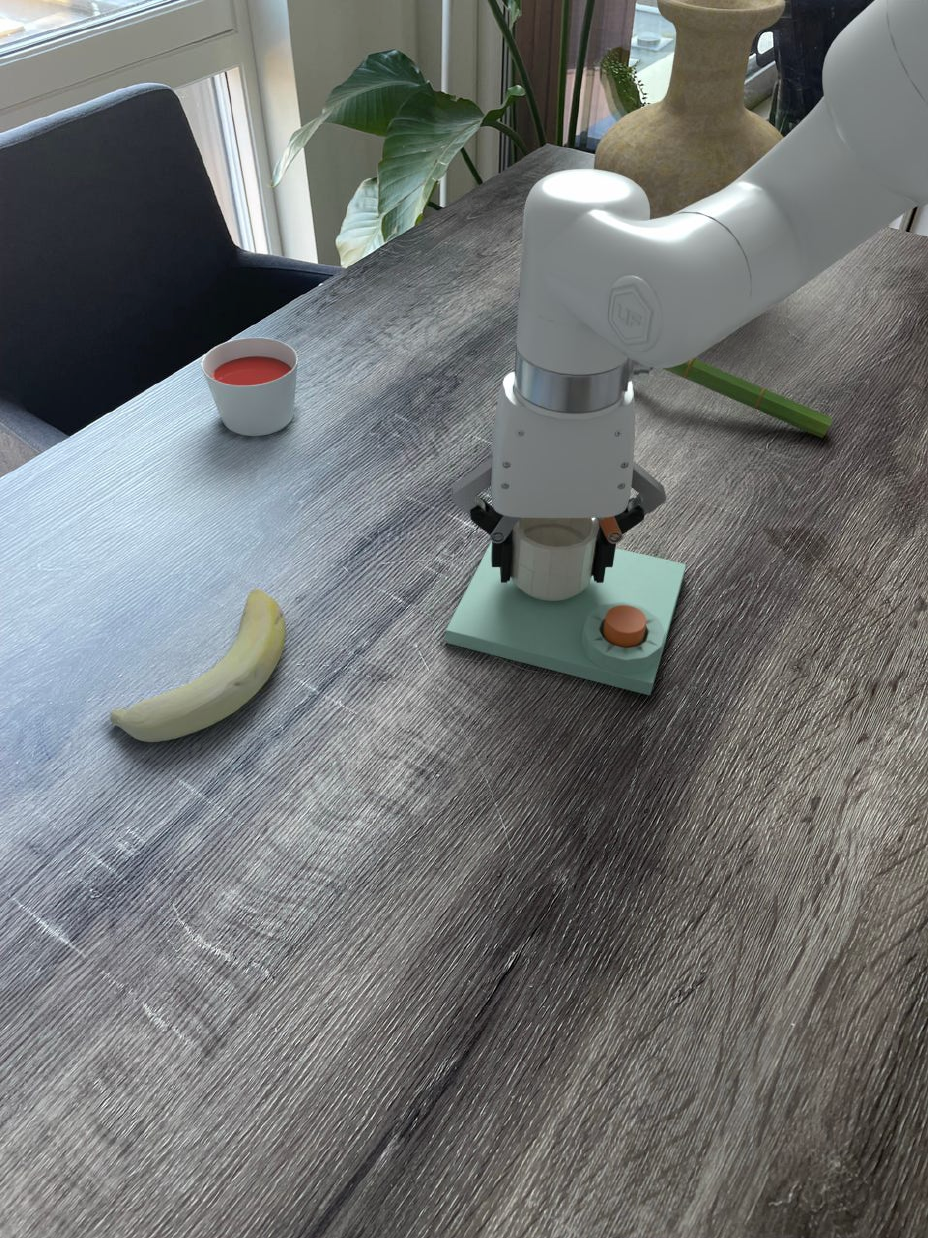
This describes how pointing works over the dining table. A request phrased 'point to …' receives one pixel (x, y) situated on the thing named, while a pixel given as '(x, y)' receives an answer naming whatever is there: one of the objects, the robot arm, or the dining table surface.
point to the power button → (624, 626)
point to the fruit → (214, 680)
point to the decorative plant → (753, 396)
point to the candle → (252, 384)
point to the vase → (696, 109)
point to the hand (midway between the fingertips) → (550, 569)
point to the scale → (573, 621)
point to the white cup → (553, 556)
